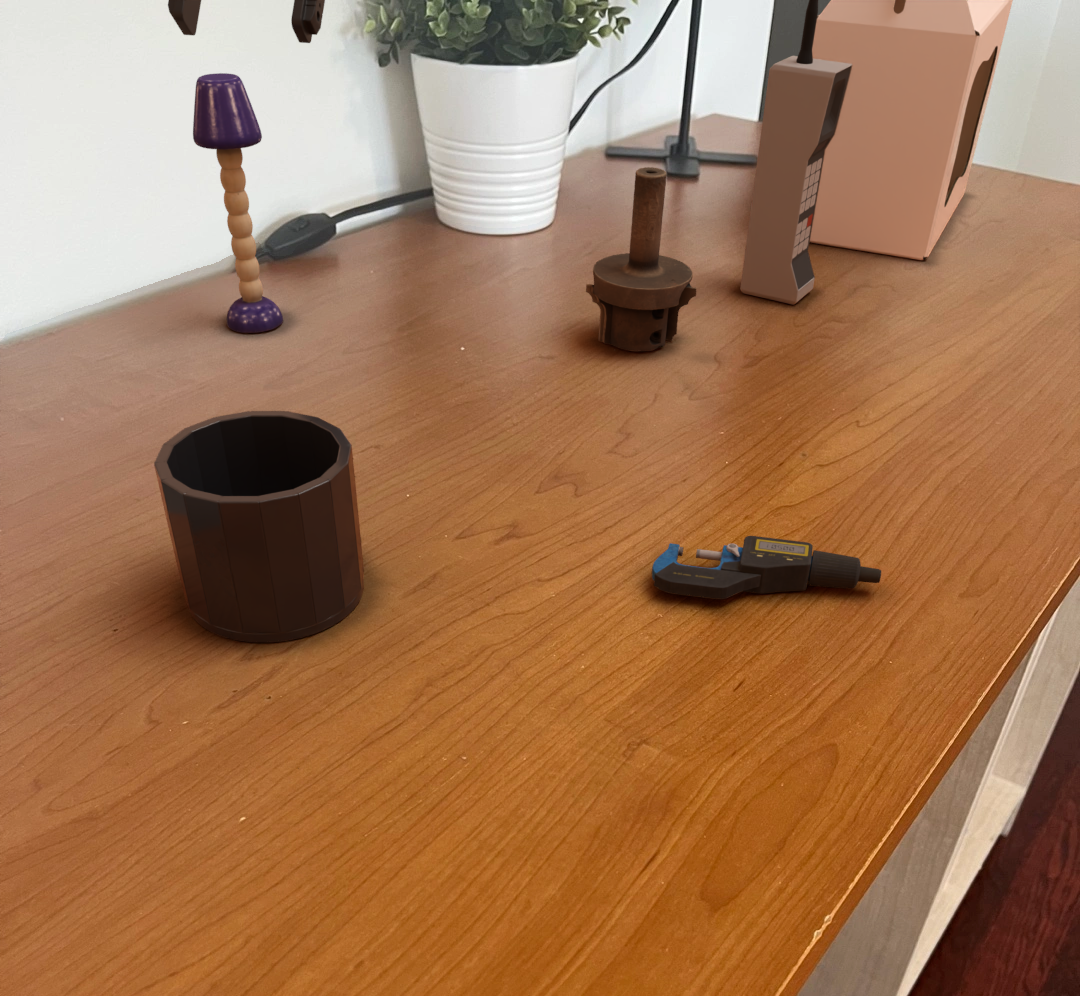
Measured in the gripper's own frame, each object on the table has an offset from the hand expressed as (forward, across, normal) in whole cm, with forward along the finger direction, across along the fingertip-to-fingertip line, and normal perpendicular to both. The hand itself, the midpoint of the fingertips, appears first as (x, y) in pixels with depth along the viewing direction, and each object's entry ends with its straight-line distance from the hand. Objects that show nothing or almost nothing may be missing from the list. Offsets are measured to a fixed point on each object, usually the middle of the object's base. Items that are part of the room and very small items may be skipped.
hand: (242, 31), depth 78 cm
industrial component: (+15, +30, +12) cm, 35 cm away
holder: (+41, +14, -14) cm, 46 cm away
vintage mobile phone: (+6, +39, +20) cm, 45 cm away
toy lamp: (+17, 0, +10) cm, 19 cm away
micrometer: (+37, +40, -10) cm, 55 cm away
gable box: (-10, +49, +36) cm, 62 cm away
